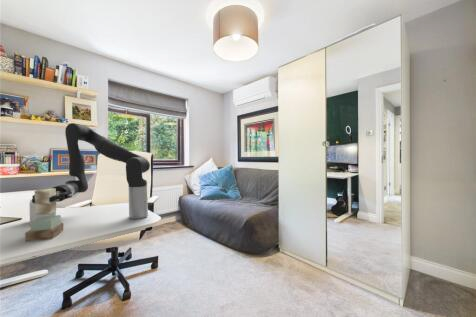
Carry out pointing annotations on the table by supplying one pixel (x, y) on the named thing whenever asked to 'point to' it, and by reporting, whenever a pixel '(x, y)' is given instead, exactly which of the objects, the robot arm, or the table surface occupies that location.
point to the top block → (45, 223)
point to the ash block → (44, 201)
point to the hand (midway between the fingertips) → (42, 200)
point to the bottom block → (43, 234)
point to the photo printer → (32, 212)
